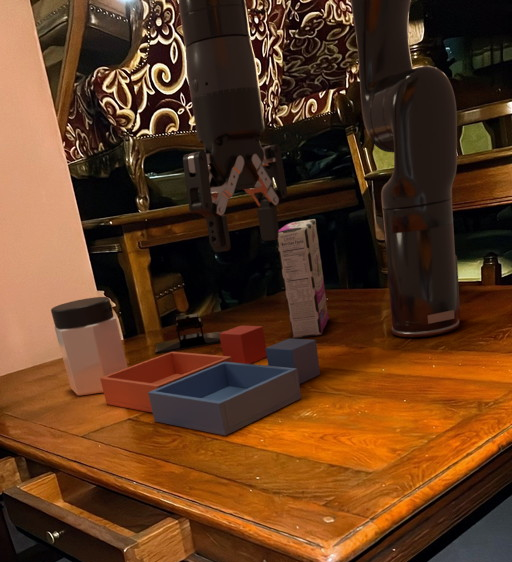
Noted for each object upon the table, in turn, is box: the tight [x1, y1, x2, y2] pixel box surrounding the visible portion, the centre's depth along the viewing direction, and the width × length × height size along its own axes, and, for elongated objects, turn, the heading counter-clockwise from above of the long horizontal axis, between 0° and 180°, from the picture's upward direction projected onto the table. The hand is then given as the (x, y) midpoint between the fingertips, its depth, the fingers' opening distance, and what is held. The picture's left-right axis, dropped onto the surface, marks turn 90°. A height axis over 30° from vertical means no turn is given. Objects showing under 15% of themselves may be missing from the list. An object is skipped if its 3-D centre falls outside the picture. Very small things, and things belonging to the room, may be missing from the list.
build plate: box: [154, 312, 225, 355], centre depth 116 cm, size 12×7×5 cm, turn 95°
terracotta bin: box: [100, 351, 232, 414], centre depth 90 cm, size 12×12×4 cm
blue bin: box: [148, 362, 302, 437], centre depth 79 cm, size 12×12×4 cm
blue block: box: [266, 338, 321, 385], centre depth 87 cm, size 4×4×4 cm
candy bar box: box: [276, 218, 330, 339], centre depth 109 cm, size 11×5×16 cm, turn 168°
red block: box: [219, 325, 267, 364], centre depth 99 cm, size 4×4×4 cm
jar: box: [50, 296, 129, 396], centre depth 98 cm, size 9×8×12 cm
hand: (247, 245), depth 81 cm, fingers open, 8 cm apart
